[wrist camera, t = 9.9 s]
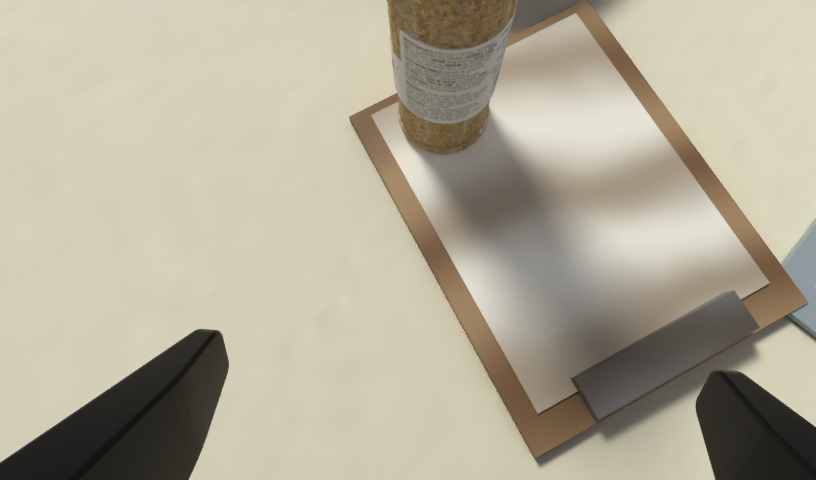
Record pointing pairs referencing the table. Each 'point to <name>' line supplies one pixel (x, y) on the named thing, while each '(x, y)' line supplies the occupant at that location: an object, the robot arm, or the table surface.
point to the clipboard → (580, 233)
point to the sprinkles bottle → (447, 67)
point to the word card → (804, 278)
